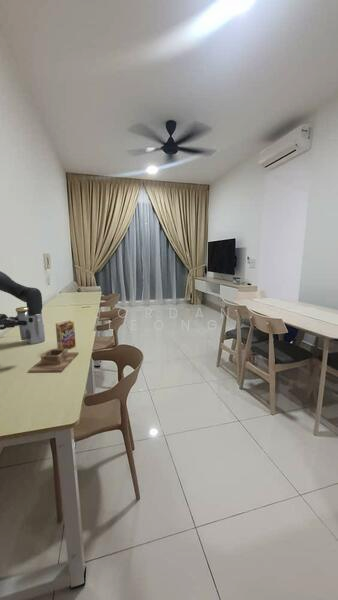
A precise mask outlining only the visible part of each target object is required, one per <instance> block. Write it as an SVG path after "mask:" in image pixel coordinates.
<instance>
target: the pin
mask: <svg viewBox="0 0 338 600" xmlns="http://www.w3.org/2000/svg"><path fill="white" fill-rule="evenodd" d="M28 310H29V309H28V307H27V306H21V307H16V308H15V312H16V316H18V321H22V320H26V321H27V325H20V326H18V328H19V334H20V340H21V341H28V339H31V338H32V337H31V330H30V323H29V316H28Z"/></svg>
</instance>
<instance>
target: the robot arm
mask: <svg viewBox="0 0 338 600" xmlns="http://www.w3.org/2000/svg"><path fill="white" fill-rule="evenodd" d="M0 291H1V292H4V293H7V294H9V295H11V296H13V297H15V298H16V299H18V300H19V301H22V302H24V303H26V307H28V309H29V310H28V316H29V323H30V330H31V337H32V338H31V339H28V340H27V343H28V344H30V345H34V344H40V343H42V342H44V341H46V336H45V334H46V333H45V325H44V322H43V320H44V319H43V313H42V311H43V296H42V295H43V294H42V293H41V290H40V289H38V288H37V287H32V286H31V287H30V286H25V285H22V284H20V283H18V282H16V281H14V280H13V279H12V278H11V277H10V276H9V275H8V274H6V273H5V272H3V271H1V270H0ZM20 325H27V321H26V320H22V321H18V316H17V315H16V316H7V314H5V313H0V331H1V330H5V329H9V328H10V329H11V328H15V327H19V326H20Z"/></svg>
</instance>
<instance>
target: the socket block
mask: <svg viewBox="0 0 338 600" xmlns="http://www.w3.org/2000/svg"><path fill="white" fill-rule="evenodd" d="M68 350H69V349H58V348H57V349H55V348H54V349H52V348H51V349H49V350H47V351H45V353H43V354H42V355H41V356H40V360H39V361H38V362H37V363H36V364H34V365H33V366H32V367H30V368H29V369H28V373H63V371H65V369H66V368H67V367H68V366H69V365H70V364H71V363H72V362H73V360H74V359H76V357H77V356H78V355H79V354H80V352H78V351H72V352H71V351H68Z"/></svg>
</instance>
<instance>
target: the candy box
mask: <svg viewBox="0 0 338 600" xmlns="http://www.w3.org/2000/svg"><path fill="white" fill-rule="evenodd" d="M55 330H56V331H55V332H56V342H57V343H56V344H57V349H67V350H69V349H73V348H75V347H76V346H77V345H76V333H75V321H74V320H71V319H70V320H67V321H62V322H58V323H55Z"/></svg>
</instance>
